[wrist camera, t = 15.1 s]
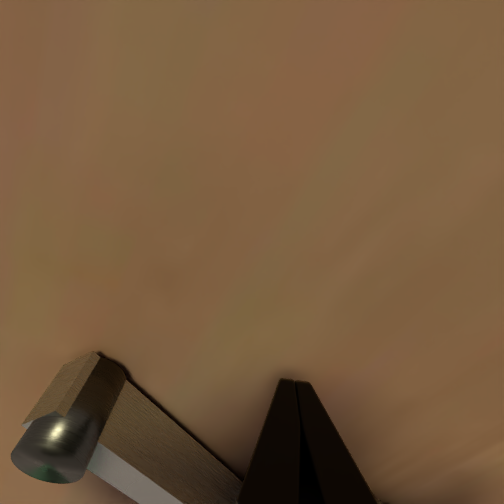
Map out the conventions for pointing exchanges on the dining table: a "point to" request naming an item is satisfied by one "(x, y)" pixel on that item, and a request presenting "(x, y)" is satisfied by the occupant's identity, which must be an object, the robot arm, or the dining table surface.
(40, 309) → the dining table surface
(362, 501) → the robot arm
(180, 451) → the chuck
